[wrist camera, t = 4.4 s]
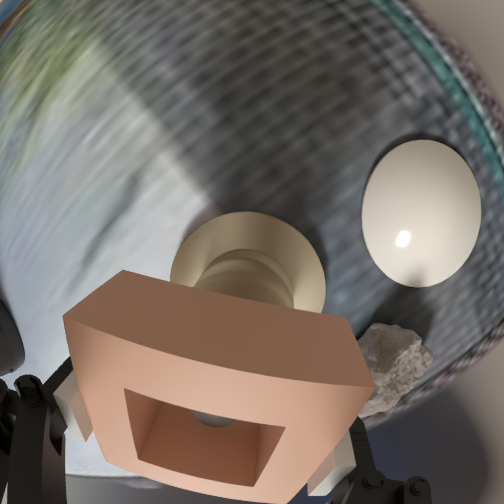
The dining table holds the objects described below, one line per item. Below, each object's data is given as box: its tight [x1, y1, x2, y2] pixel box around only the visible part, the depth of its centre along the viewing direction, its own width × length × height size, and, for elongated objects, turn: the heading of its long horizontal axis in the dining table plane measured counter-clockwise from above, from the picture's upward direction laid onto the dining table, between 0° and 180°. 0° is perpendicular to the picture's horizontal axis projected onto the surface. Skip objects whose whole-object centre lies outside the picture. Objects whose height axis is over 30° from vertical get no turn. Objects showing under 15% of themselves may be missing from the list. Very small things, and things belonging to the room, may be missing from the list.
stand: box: [170, 211, 326, 427], centre depth 16 cm, size 12×12×13 cm
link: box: [63, 270, 375, 504], centre depth 10 cm, size 9×9×4 cm
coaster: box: [361, 140, 481, 287], centre depth 19 cm, size 12×12×1 cm
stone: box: [357, 323, 433, 417], centre depth 21 cm, size 8×10×6 cm
